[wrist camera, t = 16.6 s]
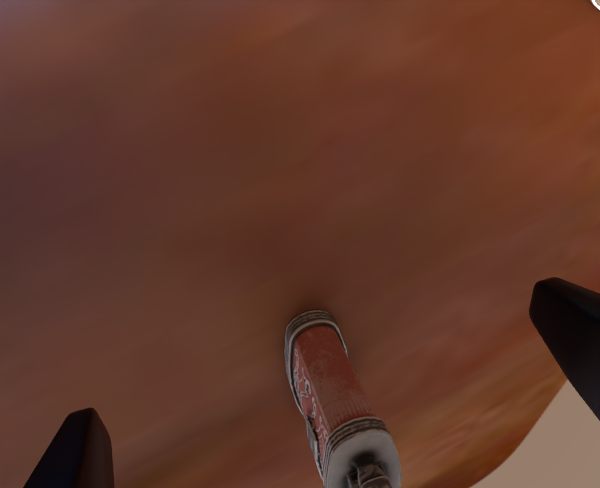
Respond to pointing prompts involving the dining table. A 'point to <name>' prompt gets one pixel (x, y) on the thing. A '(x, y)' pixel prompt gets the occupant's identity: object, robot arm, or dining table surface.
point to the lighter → (337, 408)
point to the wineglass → (596, 4)
